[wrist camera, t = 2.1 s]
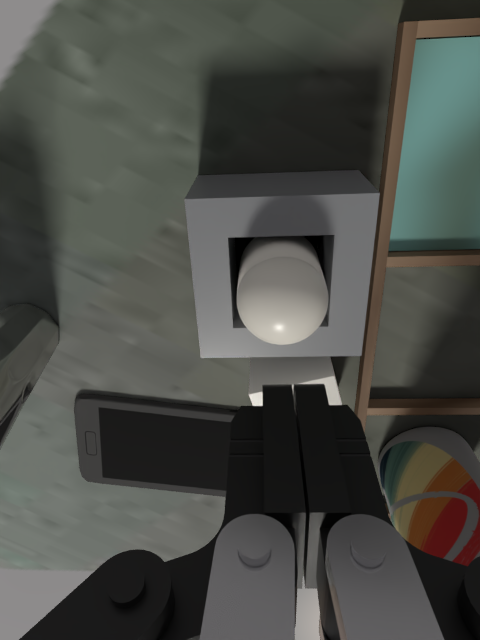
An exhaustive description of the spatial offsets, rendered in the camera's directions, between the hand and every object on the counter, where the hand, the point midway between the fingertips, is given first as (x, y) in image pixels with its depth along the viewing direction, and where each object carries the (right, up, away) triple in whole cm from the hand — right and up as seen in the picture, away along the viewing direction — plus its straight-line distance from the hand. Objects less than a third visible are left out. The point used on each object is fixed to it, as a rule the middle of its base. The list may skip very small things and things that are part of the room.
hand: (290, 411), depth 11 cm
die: (+2, 0, +14) cm, 14 cm away
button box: (+1, +6, +10) cm, 12 cm away
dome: (0, +5, +8) cm, 9 cm away
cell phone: (-4, -6, +18) cm, 19 cm away
